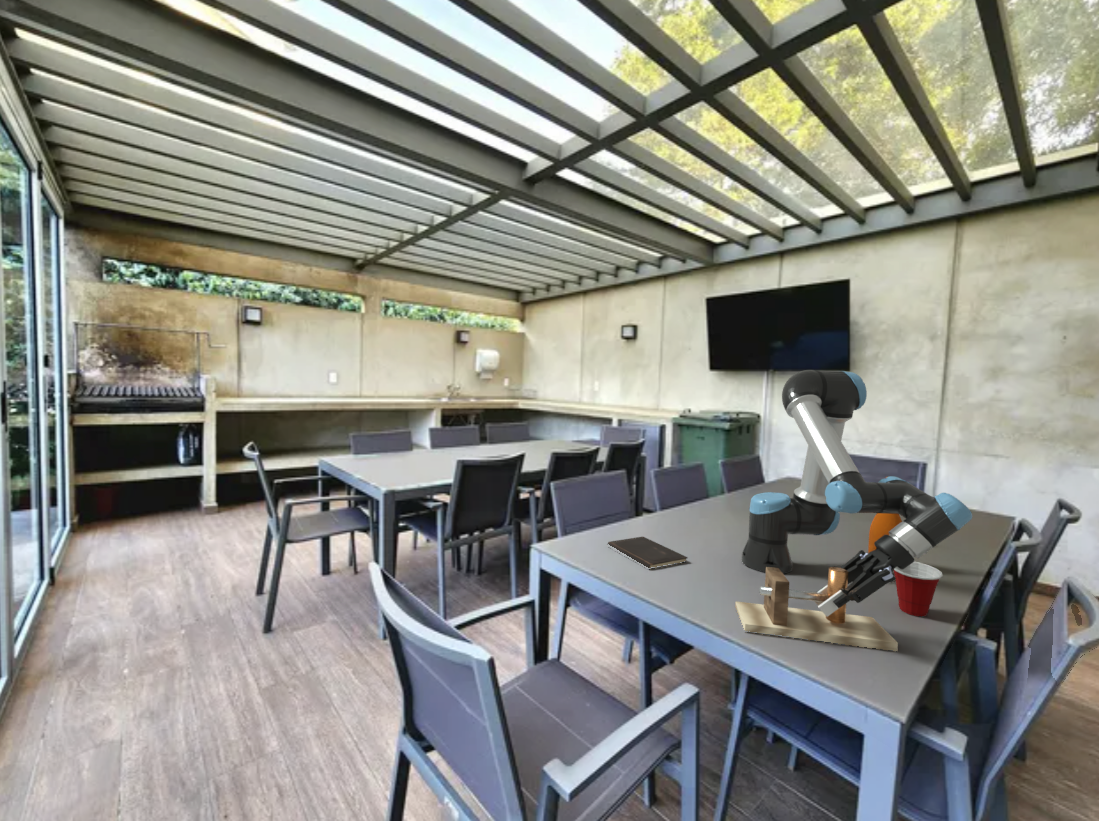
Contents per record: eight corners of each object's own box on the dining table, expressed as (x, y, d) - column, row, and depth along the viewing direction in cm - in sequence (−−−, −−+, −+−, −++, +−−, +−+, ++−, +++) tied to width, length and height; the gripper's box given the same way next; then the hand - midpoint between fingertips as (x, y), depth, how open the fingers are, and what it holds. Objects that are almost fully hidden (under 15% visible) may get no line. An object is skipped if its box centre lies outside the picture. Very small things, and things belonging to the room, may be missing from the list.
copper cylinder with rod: (761, 614, 113) (764, 565, 113) (757, 606, 117) (760, 559, 117) (847, 624, 110) (851, 574, 109) (840, 616, 114) (844, 568, 113)
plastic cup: (883, 610, 124) (886, 566, 123) (891, 598, 132) (894, 556, 131) (936, 626, 116) (940, 579, 116) (941, 612, 124) (945, 568, 123)
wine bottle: (888, 559, 163) (894, 474, 162) (910, 570, 153) (917, 479, 152) (860, 558, 163) (866, 473, 161) (881, 570, 153) (887, 479, 151)
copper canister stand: (744, 632, 111) (747, 580, 110) (735, 608, 122) (737, 561, 122) (897, 651, 104) (901, 596, 104) (871, 625, 116) (875, 575, 115)
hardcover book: (642, 542, 174) (643, 536, 174) (687, 564, 154) (687, 557, 154) (607, 548, 167) (607, 541, 167) (649, 571, 147) (649, 564, 147)
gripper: (936, 573, 99) (844, 638, 104) (894, 546, 116) (817, 602, 121) (909, 546, 100) (820, 611, 105) (871, 523, 117) (796, 580, 121)
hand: (818, 606), depth 113 cm, fingers open, 4 cm apart
